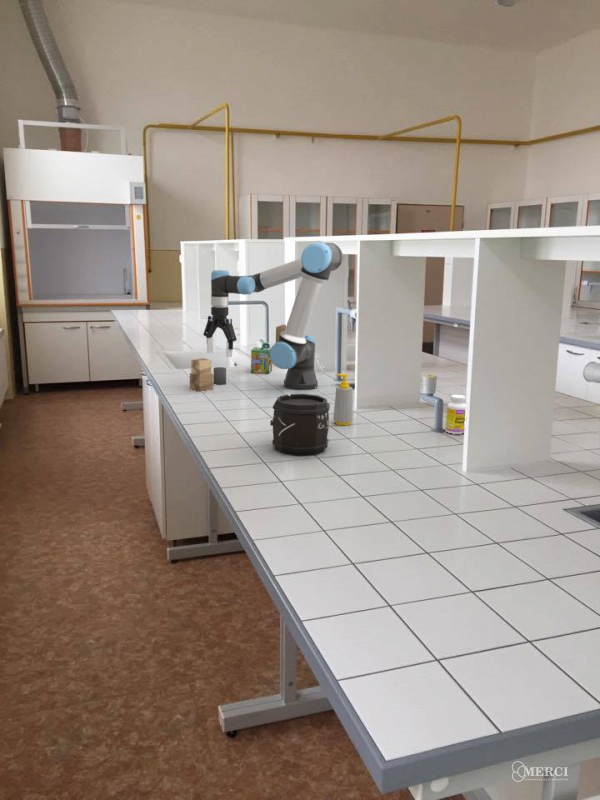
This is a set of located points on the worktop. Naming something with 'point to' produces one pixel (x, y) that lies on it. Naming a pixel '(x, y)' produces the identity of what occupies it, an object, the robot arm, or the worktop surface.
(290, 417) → the wooden barrel
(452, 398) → the supplement bottle
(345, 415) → the soap bottle
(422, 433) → the worktop surface
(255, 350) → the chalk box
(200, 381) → the walnut cube
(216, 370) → the stopper
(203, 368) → the oak cube
